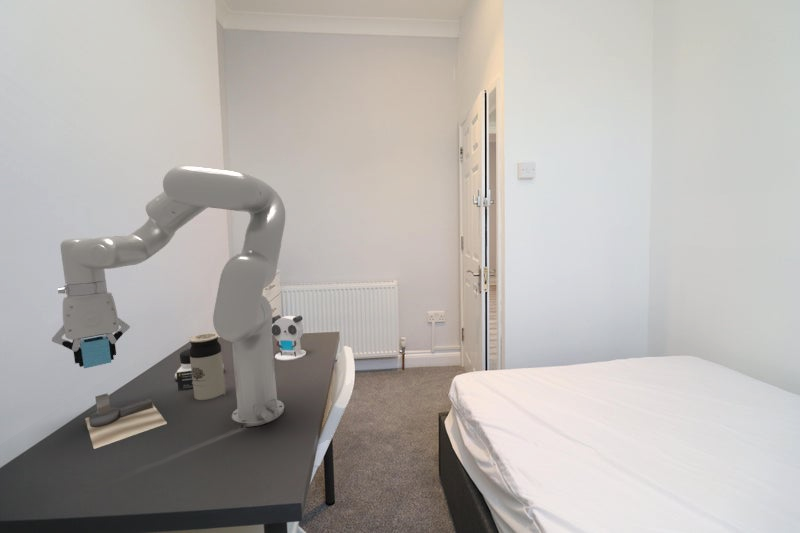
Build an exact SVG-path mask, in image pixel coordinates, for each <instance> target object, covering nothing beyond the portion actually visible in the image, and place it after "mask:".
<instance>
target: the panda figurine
mask: <svg viewBox="0 0 800 533" xmlns="http://www.w3.org/2000/svg"><path fill="white" fill-rule="evenodd" d="M302 321H303V316H302V315H297V316H294V315H285V316H281V315H280V314H278V315H275V316H272V336H273V337H274V338H275V339H276V341H277V342H276V346H277V347H278V348H279V350H280V352H278V353H276V354H275V355H274V359H276V360H278V361H292V360H298V359H300V358H303V357H305V356H306V354H307V351H306V350H304V349H302V346H301V337H302V336H303V334H304V326H303V323H302Z"/></svg>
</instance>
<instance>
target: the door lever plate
mask: <svg viewBox="0 0 800 533" xmlns="http://www.w3.org/2000/svg"><path fill="white" fill-rule="evenodd" d="M95 404H96V410H97V411H96V412H93V413H91V414H89V417H86V418H85V417H84V419H85V423H86V427H87V430H88V433H89V437H90V441H91V444H92V447H93V449H94V450H95V449H99V448H101V447H104V446H106V445H110V444H112V443H116V442H118V441H121V440H125V439H127V438H130V437H132V436H135V435H138V434H141V433H143V432H144V433H145V432H147V431H150V430H154V429H155V428H159V427H162V426H165V425H167V424H168V423H167V421H166V419H165V418H164V417H163V415H162V414H161V413H160V411H159V410H158V409H157V408H156V406H155V405H154V403H153V400H152V398H148V399H145V400H142V401H138V402H134V403H132V404H128V405H125V406H122V407H121V406H120V407H111V405H110V404H111V403H110V396H109V394H108V392H107V393H103V394H100V395H95Z"/></svg>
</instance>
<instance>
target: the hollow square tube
mask: <svg viewBox="0 0 800 533" xmlns="http://www.w3.org/2000/svg"><path fill="white" fill-rule="evenodd" d="M79 347H80V349H81V352H82V359H83V366H82V367H83V369H89V368H93V367H97V366H101V365H102V366H103V365H105V364H106V365H107V364H111V363H112V360H111V355H110V347H109V339H108V338H107V336H106V334H105V335H100V336H94V337H89V338H83V339H81V341H80V345H79Z"/></svg>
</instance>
